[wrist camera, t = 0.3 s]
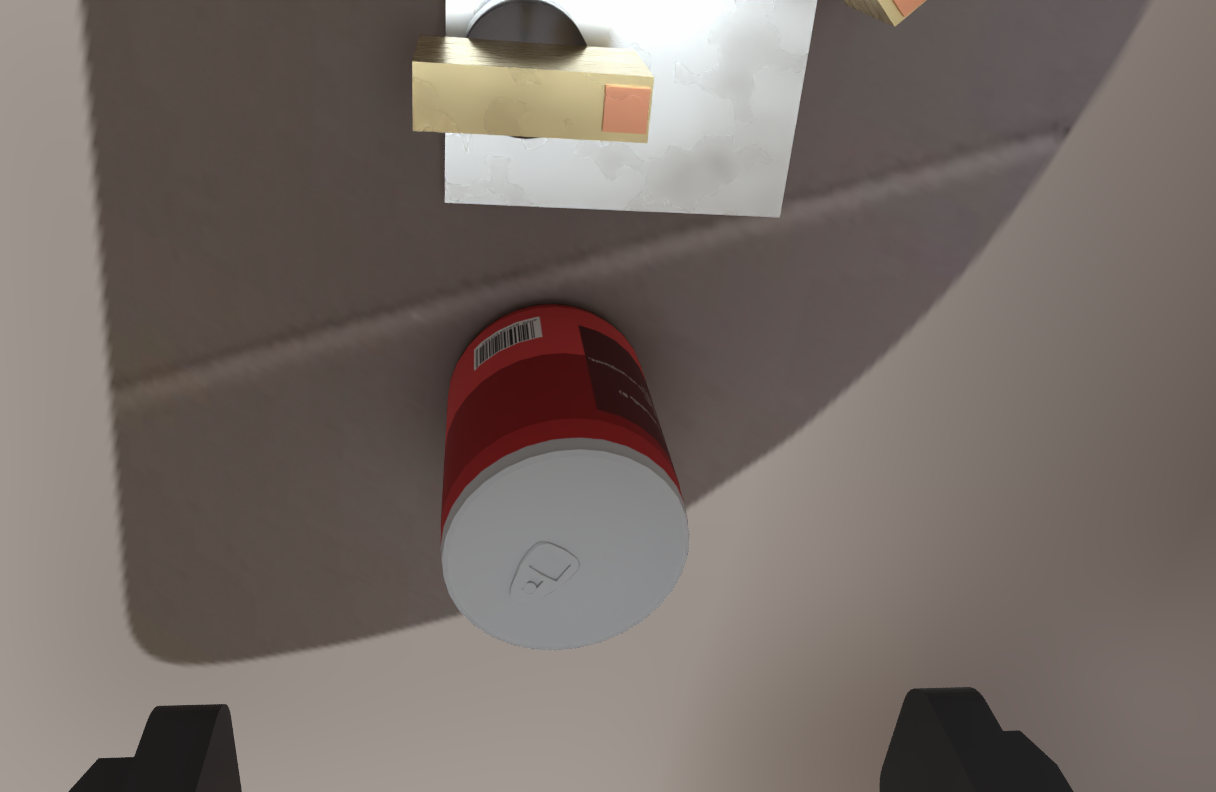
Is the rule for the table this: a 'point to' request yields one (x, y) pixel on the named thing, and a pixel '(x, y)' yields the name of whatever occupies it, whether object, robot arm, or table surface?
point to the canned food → (557, 484)
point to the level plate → (661, 114)
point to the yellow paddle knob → (886, 9)
